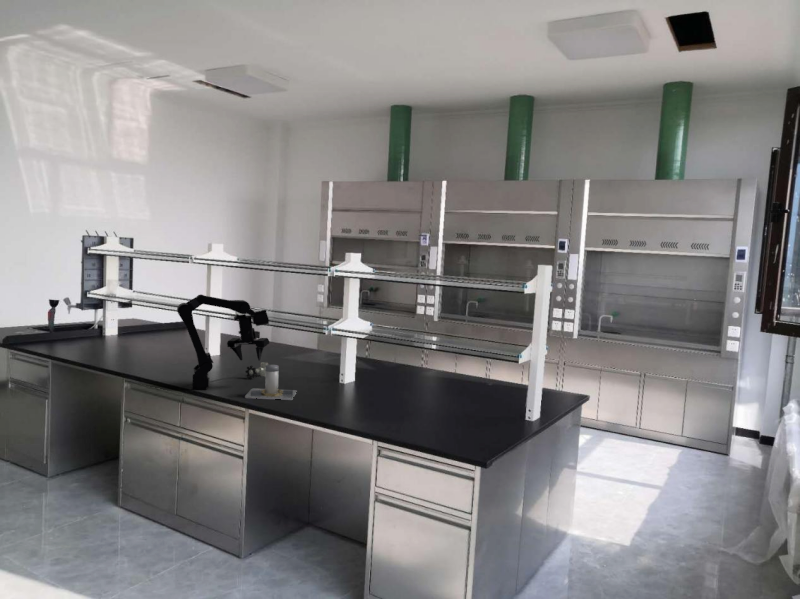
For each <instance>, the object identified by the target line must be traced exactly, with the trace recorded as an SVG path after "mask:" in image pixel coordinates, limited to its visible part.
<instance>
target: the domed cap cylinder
mask: <svg viewBox="0 0 800 599" xmlns="http://www.w3.org/2000/svg"><path fill="white" fill-rule="evenodd" d="M279 367H280V366H279V365H277V364H268V365H266V369H265V376H264V380H265V381H264V383H265V384H264V389H265V393H269V394H275V393H278V389H279V372H280V371H279V370H280V369H279Z"/></svg>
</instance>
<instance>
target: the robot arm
mask: <svg viewBox="0 0 800 599" xmlns="http://www.w3.org/2000/svg"><path fill="white" fill-rule="evenodd" d="M202 305H206V306H213V307H217V308H222V309H223V308H224V309H229V310H230V311H234V312H235V313H236V315H234V317H233V320H234V321H238V326H239V331H238V334H239V335H240V337H232V338H231V339H228V341H227V342H226V346H227V348H230V349H231V350H232V351H233V352H234V353H235V355H236V356H237V357H238V358H239V360H240V361H241V362H242V361H243V353H242V352H243V351H242V346H243V345H255V346H256V347H255V351H256V352H255V353H256V356H257V357H256V358H257V359H258V361H259V362H260V361H261V358H262V354H263V350H264V348H265V347H267V346H268V345H270V339H269V337H261V336H260V335H261V332H260V331H258V330H255V328H253V325H255V326H256V327H258V326H265V325H269V324H270V321H269V320H270V319H269V317H268V316H269V315H268V313H267V310H266V309H262V310H258V311H255V310H254V309H252V308H251V305H250V303H249V302H248V301H247V300H244V299H225V298H218V297H213V296H210V295H209V296H208V295H205V294H198V295H197V296H195V297H193V298H191V299H190V300H188V301H186V302H182V303H180V304H178V305H177V309H176V310H177V311H176V312H177V314H178V316H179V317H180V319H181V321H182V322H183V324H184V325H185V328H186V329H187V332H188V336H189V338H190V340H191V342H192V345H193V349H194V350H195V354H196V360H197V364H196V365H195V367H193V368H192V371H193V374H192V387H191V390H197V391H198V390H200V391H202V390H208V388H210V376H209V372H211V371H212V369H213V367H214V365H213V364H214V361H213V359H212V355H211V353H210V351H209V352H206V351H205V348H204V346H203V343H202V340H201V338H200V336H199V333H198V330H197V328H196V325H195V322H194V317H193V311H195V310H196V309H197V308H199V307H200V306H202ZM238 313H239V314H238Z"/></svg>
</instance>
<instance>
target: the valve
mask: <svg viewBox="0 0 800 599" xmlns="http://www.w3.org/2000/svg"><path fill="white" fill-rule="evenodd" d="M266 365H269V363H268V361H265V362H264V361H263V362H260V367H257V368H256V367H254V366H253V365H250V366H246V369H247V370H245V374H246V377H247V378H249V379H250V380H253V379H255V378H256V375H257V374H259V375H260V377H265V369H266Z"/></svg>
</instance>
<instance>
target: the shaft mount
mask: <svg viewBox="0 0 800 599" xmlns="http://www.w3.org/2000/svg"><path fill="white" fill-rule="evenodd" d="M296 392H297V393H298V390H295V389H279V388H278V393H275V394H269V393H265V388H257V387H256V388H255V387H254V388H251V389H250V390H249V391H248V392H247V393H246V394H245V396H244V399H254V400H255V399H256V398H257V400H258V399H260V400H275V399H281V401H293V399H294V398H293V397H295V396H296V394H297V393H296Z"/></svg>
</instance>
